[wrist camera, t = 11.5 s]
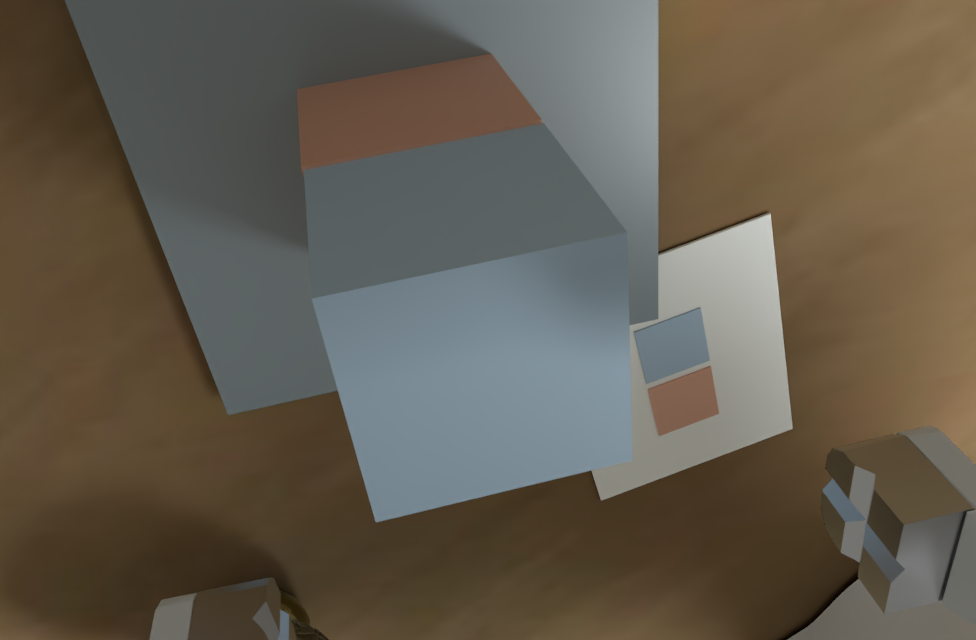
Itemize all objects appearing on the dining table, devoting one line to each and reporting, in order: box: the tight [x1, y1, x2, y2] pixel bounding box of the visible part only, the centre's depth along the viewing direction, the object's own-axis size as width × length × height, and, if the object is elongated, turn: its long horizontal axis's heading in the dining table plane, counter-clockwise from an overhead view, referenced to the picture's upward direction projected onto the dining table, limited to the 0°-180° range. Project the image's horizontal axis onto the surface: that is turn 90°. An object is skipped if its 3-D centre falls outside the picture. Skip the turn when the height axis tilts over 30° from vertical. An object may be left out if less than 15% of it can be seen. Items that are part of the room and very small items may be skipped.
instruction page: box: [591, 213, 793, 501], centre depth 29 cm, size 10×8×1 cm
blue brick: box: [304, 123, 633, 522], centre depth 16 cm, size 5×5×5 cm
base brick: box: [297, 54, 542, 176], centre depth 20 cm, size 5×5×5 cm
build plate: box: [65, 0, 658, 415], centre depth 23 cm, size 14×14×1 cm
